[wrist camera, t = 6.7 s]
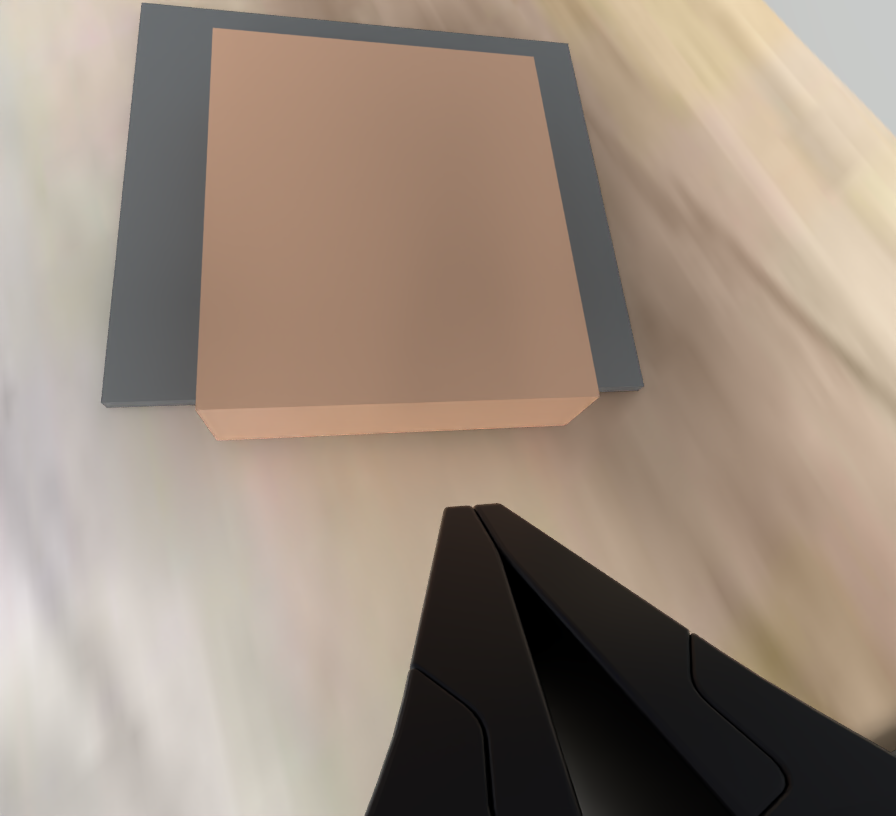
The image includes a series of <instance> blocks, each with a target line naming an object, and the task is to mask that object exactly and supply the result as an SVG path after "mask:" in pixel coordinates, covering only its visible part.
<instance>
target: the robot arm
mask: <svg viewBox="0 0 896 816" xmlns="http://www.w3.org/2000/svg"><path fill="white" fill-rule="evenodd" d="M365 816H896V755H894V754H892V753H891V752H889V751H887V750H885V749H884V748H882V747H880V746H878V745H877V744H875V743H873V742H872V741H870V740H868V739H866V738H865V737H863V736H861V735H859V734H858V733H856V732H854V731H852V730H851V729H849V728H847V727H845V726H844V725H842V724H840V723H838V722H837V721H835V720H833V719H831V718H830V717H828V716H826V715H825V714H823V713H821V712H819V711H818V710H816V709H814V708H812V707H811V706H809V705H807V704H806V703H804V702H802V701H801V700H799V699H797V698H796V697H794V696H792V695H791V694H789V693H787V692H786V691H784V690H782V689H781V688H779V687H777V686H776V685H774V684H772V683H770V682H769V681H767V680H765V679H764V678H762V677H761V676H759V675H758V674H756V673H754V672H753V671H751V670H750V669H748V668H747V667H745V666H744V665H742V664H740V663H739V662H737V661H736V660H734V659H733V658H731V657H730V656H728V655H726V654H725V653H723V652H722V651H720V650H719V649H717V648H716V647H714V646H713V645H711V644H710V643H708V642H707V641H705V640H704V639H702V638H701V637H699V636H698V635H696V634H694V633H692V634H691V635H690V632H689V630H688V629H687V628H685V627H684V626H682V625H681V624H680V623H678V622H677V621H675V620H674V619H672V618H671V617H669V616H668V615H666V614H665V613H663V612H662V611H660V610H659V609H657V608H656V607H654V606H653V605H651V604H650V603H648V602H647V601H645V600H644V599H642V598H641V597H639V596H638V595H636V594H635V593H633V592H632V591H630V590H629V589H627V588H626V587H624V586H623V585H621V584H620V583H618V582H617V581H615V580H614V579H612V578H611V577H609V576H608V575H606V574H605V573H603V572H602V571H600V570H599V569H597V568H596V567H594V566H593V565H591V564H590V563H588V562H587V561H585V560H584V559H582V558H581V557H579V556H578V555H576V554H575V553H573V552H572V551H570V550H569V549H567V548H566V547H564V546H563V545H561V544H560V543H559V542H557V541H556V540H554V539H553V538H551V537H550V536H548V535H547V534H545V533H544V532H542V531H541V530H539V529H538V528H536V527H535V526H533V525H532V524H530V523H529V522H527V521H526V520H524V519H523V518H521V517H520V516H518V515H517V514H515V513H514V512H512V511H511V510H509V509H508V508H506V507H505V506H503V505H501V504H497V503H496V504H483V505H475V506H474V507H473V508H472V507H471V506H455V507H446V508H445V509H444V512H443V516H442V521H441V525H440V530H439V534H438V539H437V544H436V548H435V553H434V558H433V562H432V567H431V571H430V576H429V581H428V585H427V590H426V595H425V599H424V604H423V608H422V613H421V618H420V622H419V627H418V632H417V636H416V641H415V645H414V650H413V655H412V659H411V664H410V671H409V672H408V676H407V681H406V685H405V690H404V695H403V699H402V703H401V707H400V711H399V714H398V718H397V722H396V726H395V730H394V734H393V737H392V740H391V743H390V746H389V749H388V752H387V755H386V758H385V761H384V764H383V766H382V769H381V772H380V775H379V778H378V781H377V784H376V787H375V789H374V792H373V795H372V797H371V800H370V802H369V805H368V808H367V810H366V813H365Z"/></svg>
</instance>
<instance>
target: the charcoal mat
mask: <svg viewBox="0 0 896 816" xmlns="http://www.w3.org/2000/svg"><path fill="white" fill-rule="evenodd" d="M213 28H221V29H232V30H243V31H254V32H265V33H276V34H287V35H299V36H310V37H321V38H332V39H343V40H354V41H365V42H376V43H387V44H398V45H409V46H420V47H431V48H442V49H453V50H465V51H476V52H487V53H498V54H509V55H520V56H531V57H534V61H535V66H536V71H537V77H538V82H539V87H540V92H541V97H542V102H543V107H544V112H545V118H546V123H547V128H548V133H549V138H550V143H551V148H552V153H553V159H554V164H555V169H556V174H557V179H558V184H559V189H560V194H561V199H562V205H563V210H564V215H565V220H566V225H567V230H568V235H569V240H570V246H571V251H572V256H573V261H574V266H575V271H576V276H577V281H578V287H579V292H580V297H581V302H582V307H583V312H584V317H585V322H586V328H587V333H588V338H589V343H590V348H591V353H592V358H593V363H594V369H595V374H596V379H597V384H598V389H599V392H609V391H638V390H640V389H641V388H642V387H644V383H643V379H642V374H641V370H640V365H639V361H638V356H637V352H636V347H635V343H634V339H633V334H632V330H631V325H630V321H629V316H628V312H627V307H626V303H625V298H624V294H623V289H622V285H621V280H620V276H619V271H618V267H617V262H616V258H615V253H614V249H613V244H612V240H611V235H610V231H609V226H608V222H607V217H606V213H605V208H604V204H603V199H602V195H601V190H600V186H599V182H598V177H597V173H596V168H595V164H594V159H593V155H592V150H591V146H590V141H589V137H588V132H587V128H586V123H585V119H584V114H583V110H582V105H581V101H580V96H579V92H578V87H577V83H576V78H575V74H574V69H573V65H572V60H571V56H570V51H569V47H568V44H566V43H555V42H545V41H535V40H524V39H514V38H504V37H493V36H483V35H472V34H462V33H452V32H441V31H431V30H420V29H410V28H400V27H389V26H379V25H368V24H358V23H348V22H337V21H327V20H317V19H306V18H296V17H285V16H275V15H265V14H254V13H244V12H233V11H223V10H213V9H202V8H192V7H182V6H171V5H161V4H150V3H142V5H141V15H140V25H139V34H138V44H137V54H136V64H135V74H134V84H133V93H132V103H131V113H130V123H129V133H128V142H127V152H126V162H125V172H124V182H123V192H122V201H121V211H120V221H119V231H118V241H117V251H116V260H115V270H114V280H113V290H112V300H111V310H110V319H109V329H108V339H107V349H106V359H105V368H104V378H103V388H102V398H101V403H102V404H103V405H104V406H106V407H137V406H168V405H196V385H197V363H198V341H199V319H200V297H201V275H202V253H203V231H204V209H205V187H206V166H207V144H208V122H209V100H210V78H211V56H212V34H213Z"/></svg>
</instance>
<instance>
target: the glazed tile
mask: <svg viewBox="0 0 896 816" xmlns="http://www.w3.org/2000/svg"><path fill="white" fill-rule="evenodd" d="M599 397H600V394H599V389H598V384H597V379H596V374H595V369H594V363H593V358H592V353H591V348H590V343H589V338H588V333H587V328H586V322H585V317H584V312H583V307H582V302H581V297H580V292H579V287H578V281H577V276H576V271H575V266H574V261H573V256H572V251H571V246H570V240H569V235H568V230H567V225H566V220H565V215H564V210H563V205H562V199H561V194H560V189H559V184H558V179H557V174H556V169H555V164H554V159H553V153H552V148H551V143H550V138H549V133H548V128H547V123H546V118H545V112H544V107H543V102H542V97H541V92H540V87H539V82H538V77H537V71H536V66H535V61H534V57H531V56H520V55H509V54H498V53H487V52H476V51H465V50H453V49H442V48H431V47H420V46H409V45H398V44H387V43H376V42H365V41H354V40H343V39H332V38H321V37H310V36H299V35H287V34H276V33H265V32H254V31H243V30H232V29H221V28H213V34H212V56H211V78H210V100H209V122H208V144H207V166H206V187H205V209H204V231H203V253H202V275H201V297H200V319H199V341H198V363H197V385H196V407H195V410H196V412H197V413H198V415H199V416H200V417H201V419H202V420H203V422H204V423H205V424H206V426H207V427H208V429H209V430H210V431H211V433H212V434H213V436H214V437H215V438H216V440H217V441H220V440H242V439H265V438H288V437H311V436H334V435H357V434H380V433H403V432H425V431H448V430H471V429H494V428H517V427H540V426H563V425H566V424H568V423H569V422H570V421H571V420H572V419H574V418H575V417H576V416H577V415H578V414H580V413H581V412H582V411H583V410H584V409H586V408H587V407H588V406H589V405H590V404H592V403H593V402H594V401H595V400H596V399H598V398H599Z"/></svg>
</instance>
